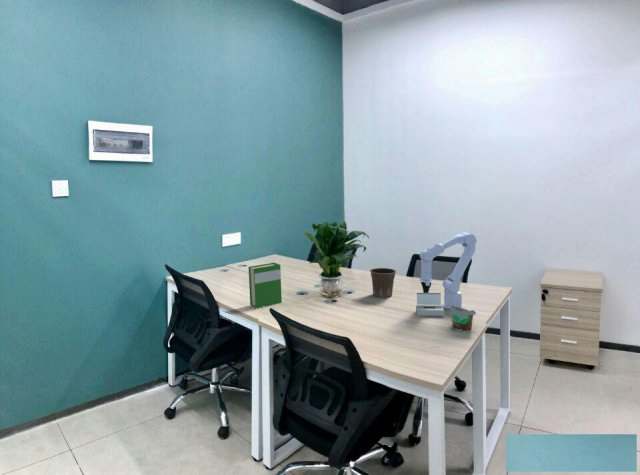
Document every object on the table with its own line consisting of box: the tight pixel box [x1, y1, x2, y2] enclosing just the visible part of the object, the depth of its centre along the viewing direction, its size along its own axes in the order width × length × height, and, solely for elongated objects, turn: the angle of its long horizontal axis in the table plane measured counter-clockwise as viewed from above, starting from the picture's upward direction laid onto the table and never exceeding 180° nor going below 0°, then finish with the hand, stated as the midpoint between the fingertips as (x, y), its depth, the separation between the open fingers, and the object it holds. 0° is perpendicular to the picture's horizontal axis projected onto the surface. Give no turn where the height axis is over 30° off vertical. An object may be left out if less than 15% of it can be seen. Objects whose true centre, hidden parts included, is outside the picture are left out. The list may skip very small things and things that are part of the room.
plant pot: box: [369, 267, 397, 298], centre depth 262 cm, size 16×16×16 cm
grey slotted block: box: [415, 304, 445, 317], centre depth 226 cm, size 14×8×4 cm, turn 83°
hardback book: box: [248, 262, 282, 309], centre depth 248 cm, size 18×7×24 cm, turn 127°
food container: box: [449, 305, 475, 331], centre depth 203 cm, size 12×6×10 cm, turn 40°
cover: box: [416, 292, 442, 306], centre depth 230 cm, size 13×7×1 cm
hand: (425, 294), depth 234 cm, fingers closed
